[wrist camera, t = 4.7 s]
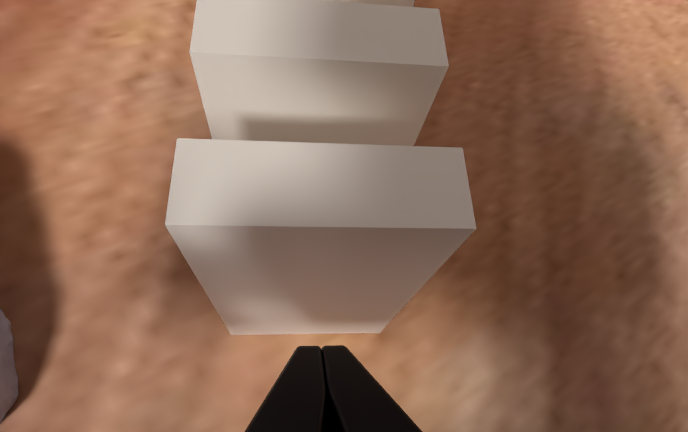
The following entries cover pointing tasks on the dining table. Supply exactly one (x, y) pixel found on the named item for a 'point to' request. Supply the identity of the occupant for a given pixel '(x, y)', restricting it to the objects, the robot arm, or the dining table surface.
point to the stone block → (7, 367)
